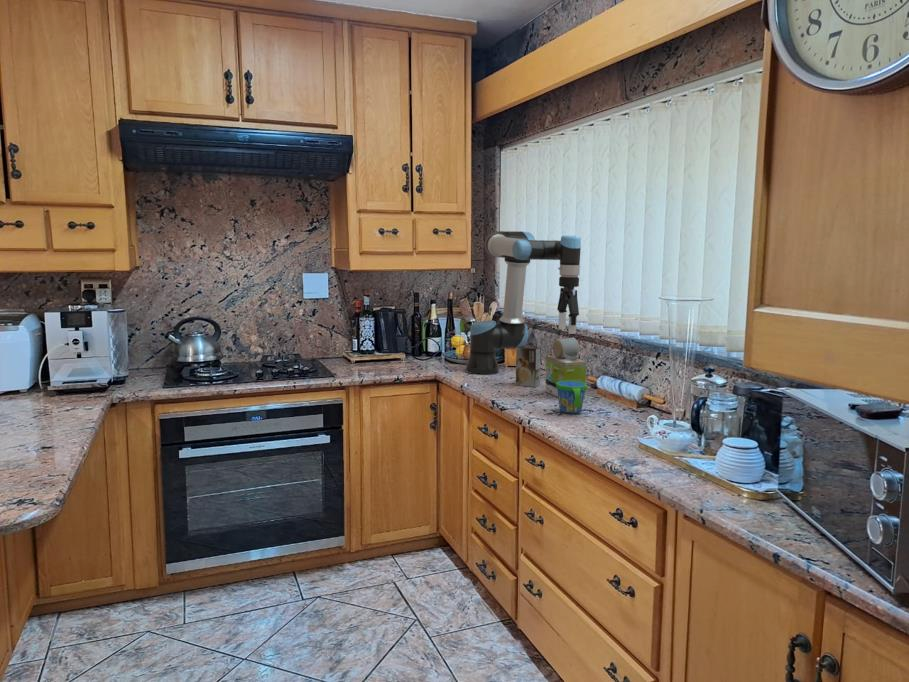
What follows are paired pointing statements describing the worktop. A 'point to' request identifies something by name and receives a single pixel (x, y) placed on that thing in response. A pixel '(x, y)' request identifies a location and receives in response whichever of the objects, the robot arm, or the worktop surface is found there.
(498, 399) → the worktop surface
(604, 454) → the worktop surface
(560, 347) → the ceramic mug
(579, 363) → the tea box
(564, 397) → the snack cup
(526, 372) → the coffee box
